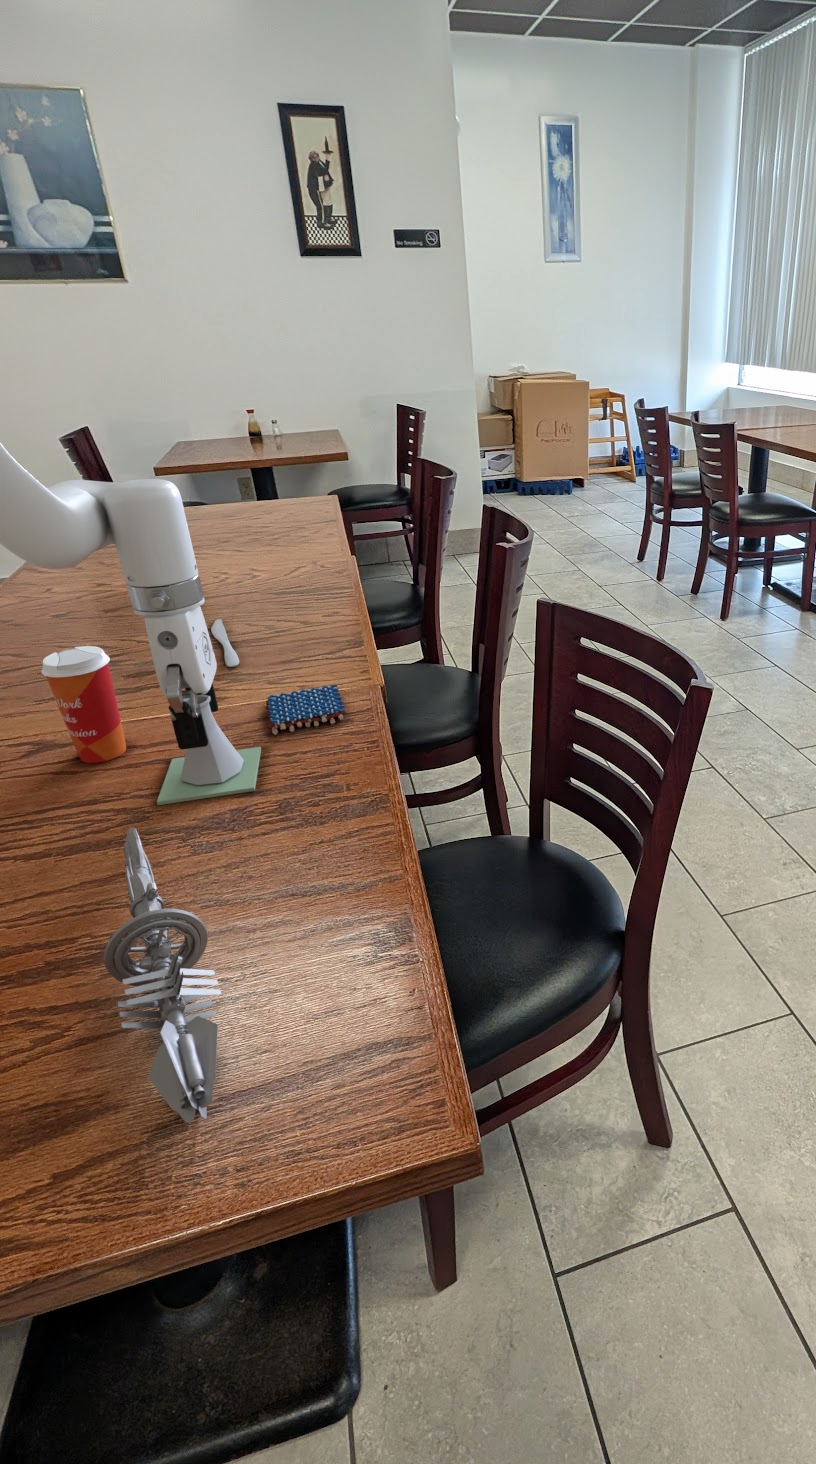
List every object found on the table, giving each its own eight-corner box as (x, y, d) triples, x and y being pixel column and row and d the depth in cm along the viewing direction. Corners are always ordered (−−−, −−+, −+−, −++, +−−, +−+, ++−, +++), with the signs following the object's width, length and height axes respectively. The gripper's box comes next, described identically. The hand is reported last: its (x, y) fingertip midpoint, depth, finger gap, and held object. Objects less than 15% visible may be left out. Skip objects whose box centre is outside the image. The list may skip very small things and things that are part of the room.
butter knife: (221, 667, 134) (240, 662, 135) (208, 621, 156) (224, 617, 157) (222, 670, 134) (241, 665, 135) (209, 624, 156) (225, 620, 157)
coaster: (157, 805, 97) (156, 801, 97) (173, 761, 106) (172, 758, 106) (254, 791, 99) (254, 787, 99) (261, 749, 109) (260, 746, 108)
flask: (254, 759, 105) (238, 688, 101) (226, 788, 99) (208, 714, 94) (201, 757, 106) (183, 686, 102) (170, 785, 100) (150, 712, 95)
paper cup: (63, 754, 109) (30, 656, 103) (123, 734, 114) (95, 640, 108) (82, 773, 104) (49, 672, 98) (144, 752, 109) (116, 654, 103)
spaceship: (178, 797, 83) (89, 795, 78) (270, 1059, 57) (147, 1080, 53) (163, 863, 85) (75, 865, 80) (245, 1141, 60) (124, 1169, 55)
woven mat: (265, 706, 121) (263, 694, 120) (338, 694, 124) (336, 681, 123) (269, 736, 112) (266, 723, 111) (348, 721, 115) (346, 709, 115)
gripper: (190, 613, 86) (224, 757, 93) (211, 570, 101) (239, 696, 108) (112, 621, 84) (153, 767, 91) (145, 576, 99) (178, 704, 107)
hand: (200, 728), depth 100 cm, fingers open, 9 cm apart
